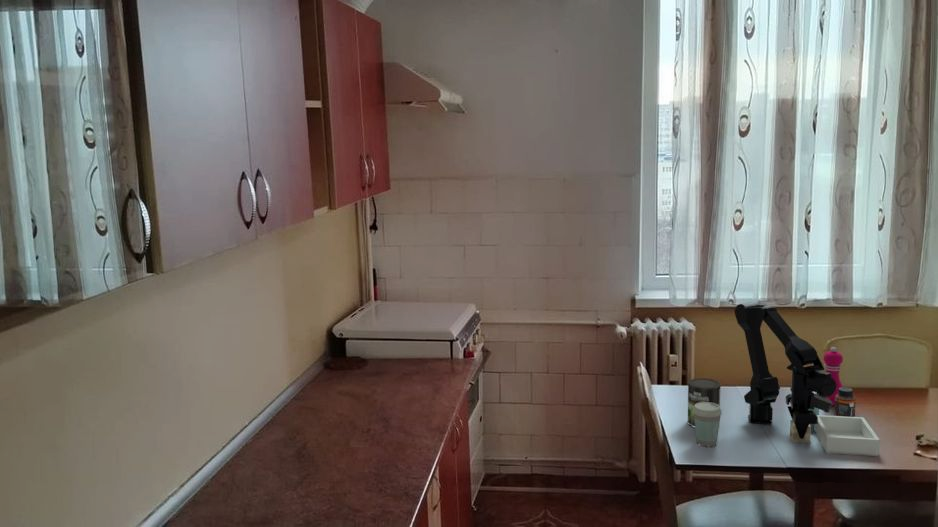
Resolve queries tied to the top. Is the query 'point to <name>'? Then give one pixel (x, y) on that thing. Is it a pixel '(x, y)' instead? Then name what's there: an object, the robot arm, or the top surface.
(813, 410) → the teal cylinder
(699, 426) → the coffee cup
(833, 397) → the pepper mill
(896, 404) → the top surface
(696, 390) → the coffee can
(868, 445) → the tote
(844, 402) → the supplement bottle
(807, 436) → the beige rectangular block
